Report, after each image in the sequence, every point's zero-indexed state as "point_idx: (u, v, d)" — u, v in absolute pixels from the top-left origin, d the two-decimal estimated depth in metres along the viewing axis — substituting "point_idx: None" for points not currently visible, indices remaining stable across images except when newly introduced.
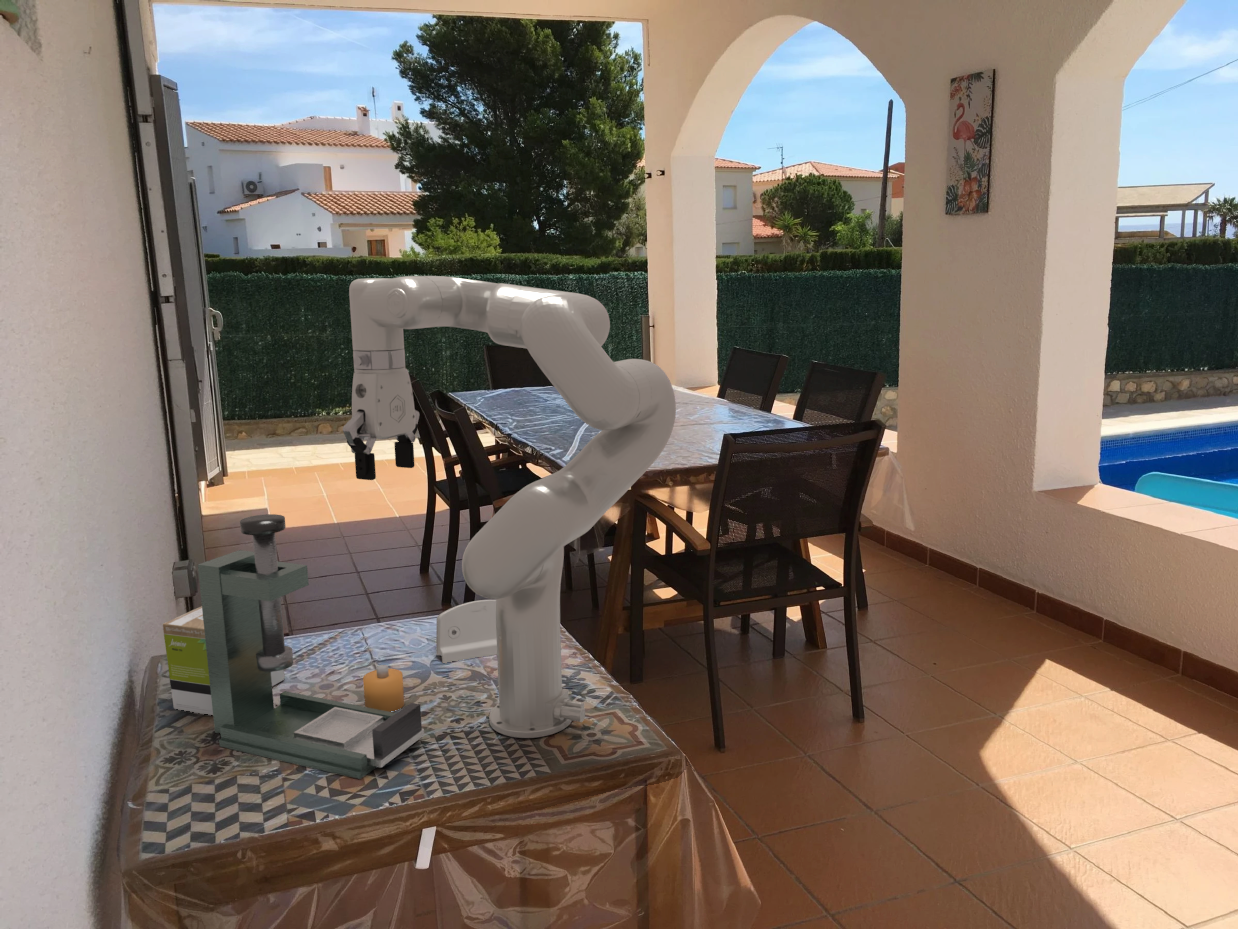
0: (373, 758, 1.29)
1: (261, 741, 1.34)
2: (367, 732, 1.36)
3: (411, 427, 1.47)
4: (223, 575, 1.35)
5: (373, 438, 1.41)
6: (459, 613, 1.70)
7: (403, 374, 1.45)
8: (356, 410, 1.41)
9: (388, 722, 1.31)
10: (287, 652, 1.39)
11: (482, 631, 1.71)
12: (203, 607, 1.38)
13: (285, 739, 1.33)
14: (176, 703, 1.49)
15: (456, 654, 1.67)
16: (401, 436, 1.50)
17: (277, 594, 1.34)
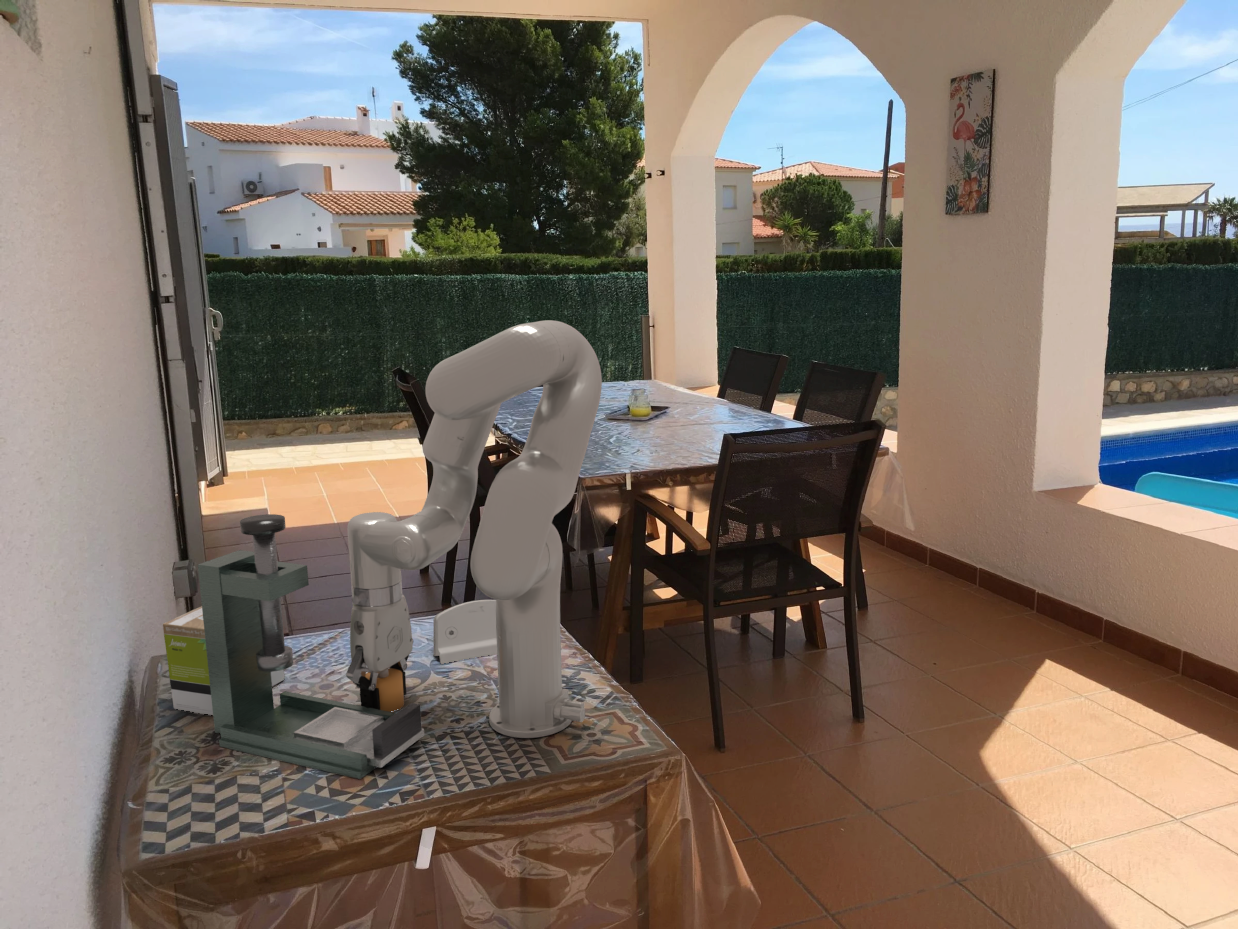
0: (373, 758, 1.29)
1: (261, 741, 1.34)
2: (367, 732, 1.36)
3: (409, 651, 1.50)
4: (223, 575, 1.35)
5: (375, 673, 1.45)
6: (456, 614, 1.69)
7: (400, 604, 1.48)
8: (354, 645, 1.44)
9: (388, 722, 1.31)
10: (287, 652, 1.39)
11: (479, 631, 1.71)
12: (203, 607, 1.38)
13: (285, 739, 1.33)
14: (176, 703, 1.49)
15: (454, 655, 1.67)
16: (393, 663, 1.52)
17: (277, 594, 1.34)
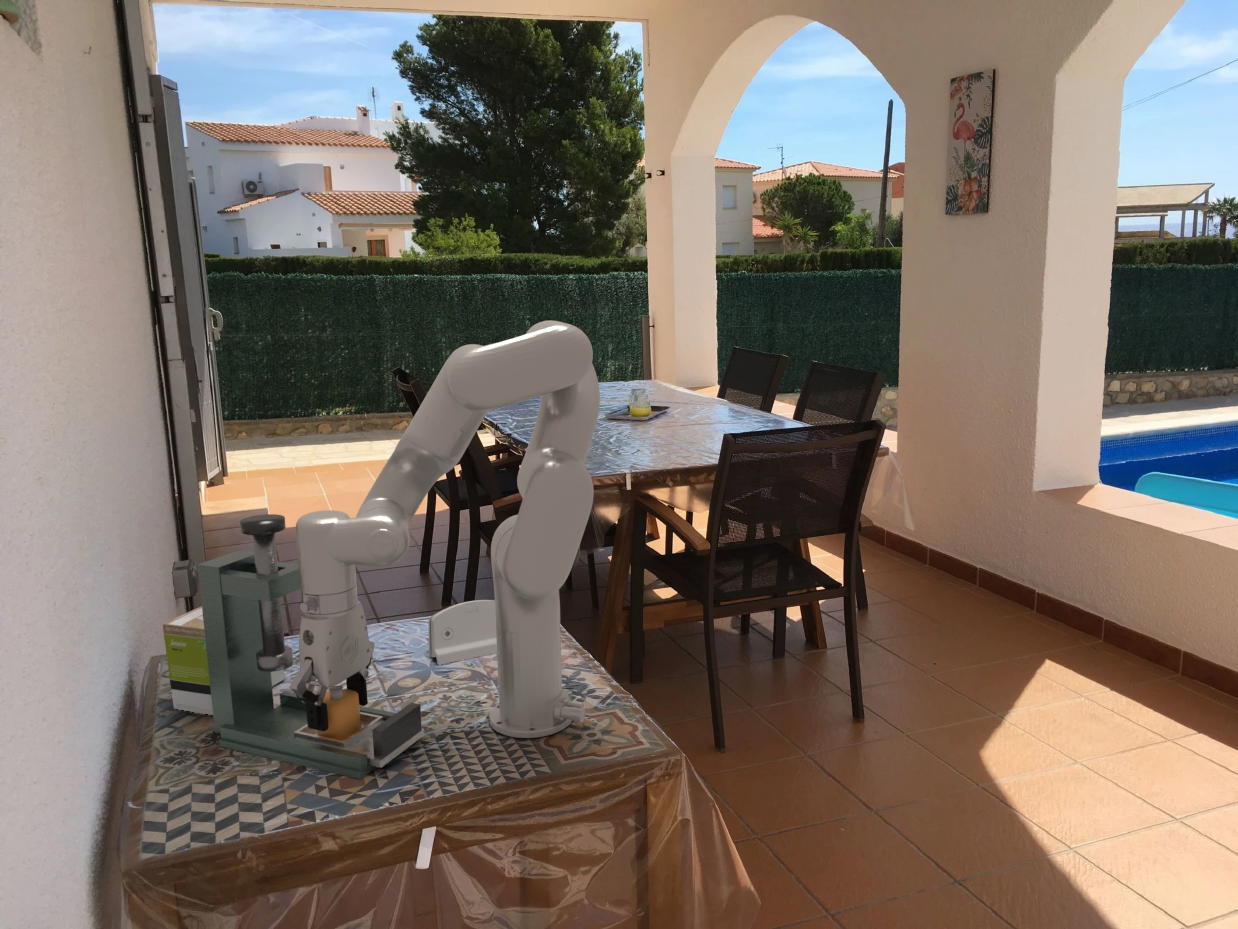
0: (373, 758, 1.29)
1: (261, 741, 1.34)
2: (367, 732, 1.36)
3: (366, 663, 1.37)
4: (223, 575, 1.35)
5: (324, 687, 1.31)
6: (451, 614, 1.69)
7: (355, 611, 1.35)
8: (303, 657, 1.30)
9: (388, 722, 1.31)
10: (287, 652, 1.39)
11: (475, 631, 1.70)
12: (203, 607, 1.38)
13: (285, 739, 1.33)
14: (176, 703, 1.49)
15: (451, 656, 1.67)
16: None
17: (277, 594, 1.34)
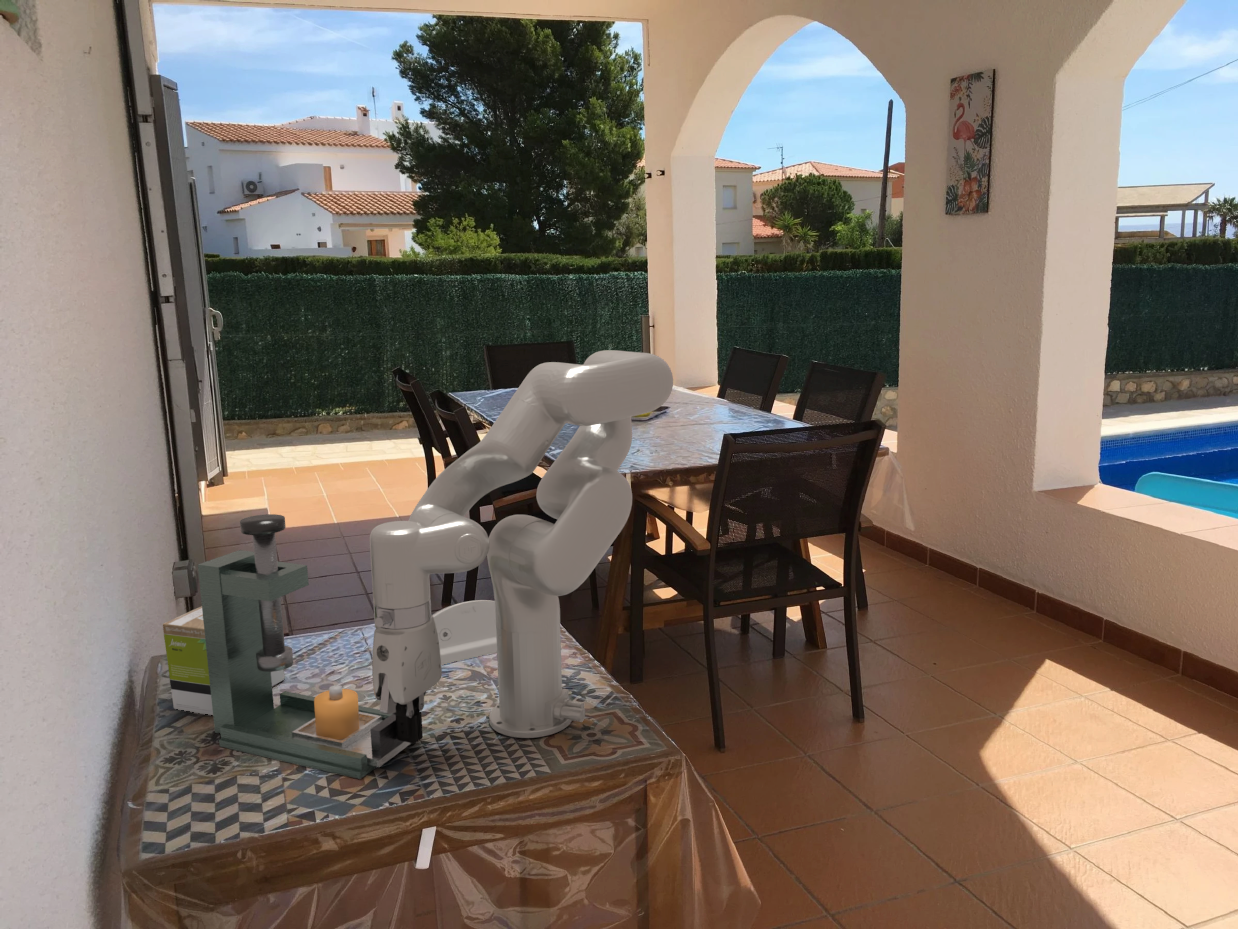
0: (372, 758, 1.29)
1: (261, 741, 1.34)
2: (365, 732, 1.36)
3: (437, 679, 1.33)
4: (223, 575, 1.35)
5: None
6: (449, 615, 1.69)
7: (429, 625, 1.30)
8: (377, 673, 1.26)
9: (386, 721, 1.31)
10: (287, 652, 1.39)
11: (472, 632, 1.70)
12: (203, 607, 1.38)
13: (285, 739, 1.33)
14: (176, 703, 1.49)
15: (449, 656, 1.66)
16: None
17: (277, 594, 1.34)
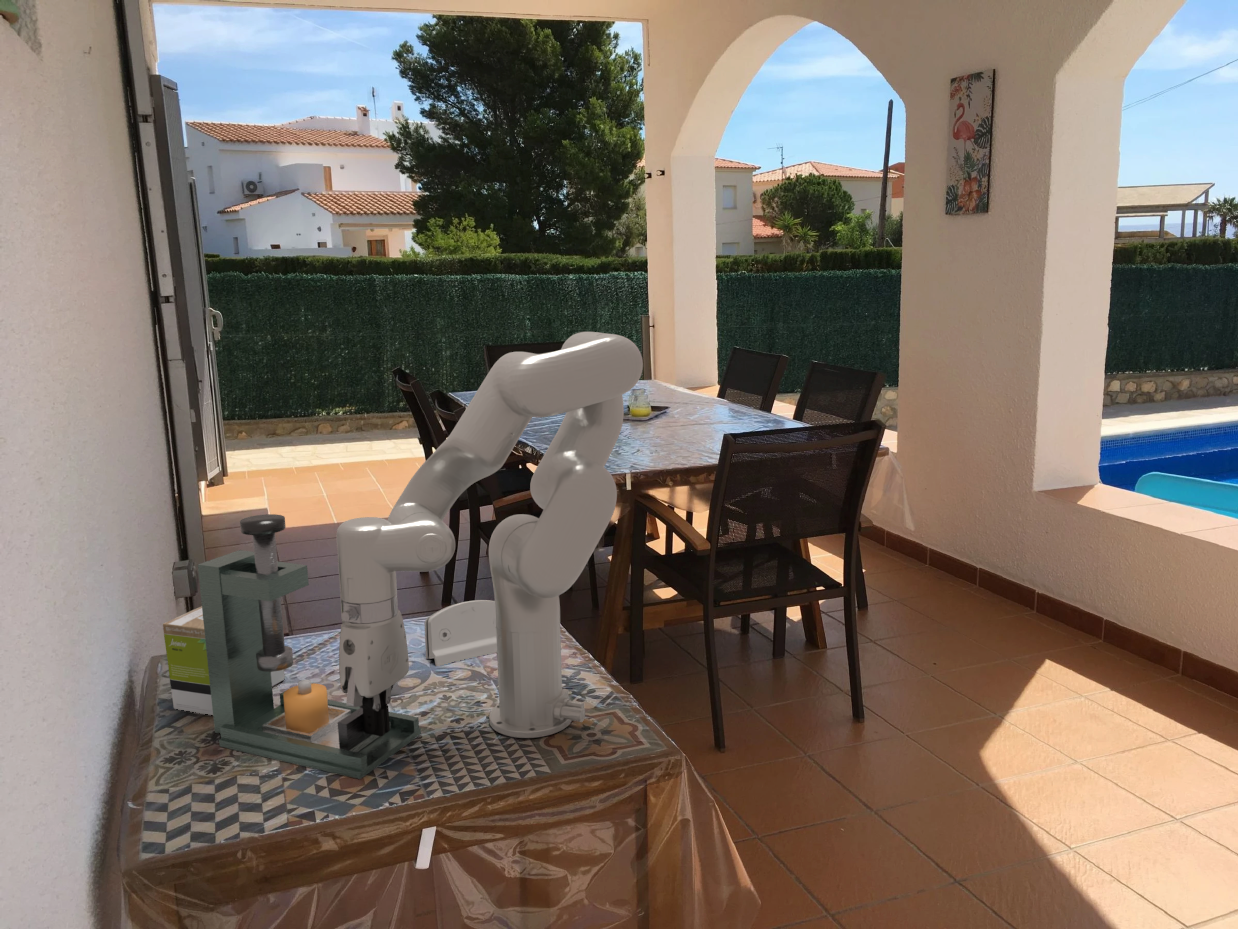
0: None
1: (261, 741, 1.34)
2: (334, 725, 1.38)
3: (404, 673, 1.35)
4: (223, 575, 1.35)
5: (375, 694, 1.31)
6: (448, 615, 1.69)
7: (395, 620, 1.32)
8: (344, 667, 1.28)
9: (353, 715, 1.33)
10: (287, 652, 1.39)
11: (472, 632, 1.70)
12: (203, 607, 1.38)
13: (285, 739, 1.33)
14: (176, 703, 1.49)
15: (449, 657, 1.66)
16: None
17: (277, 594, 1.34)
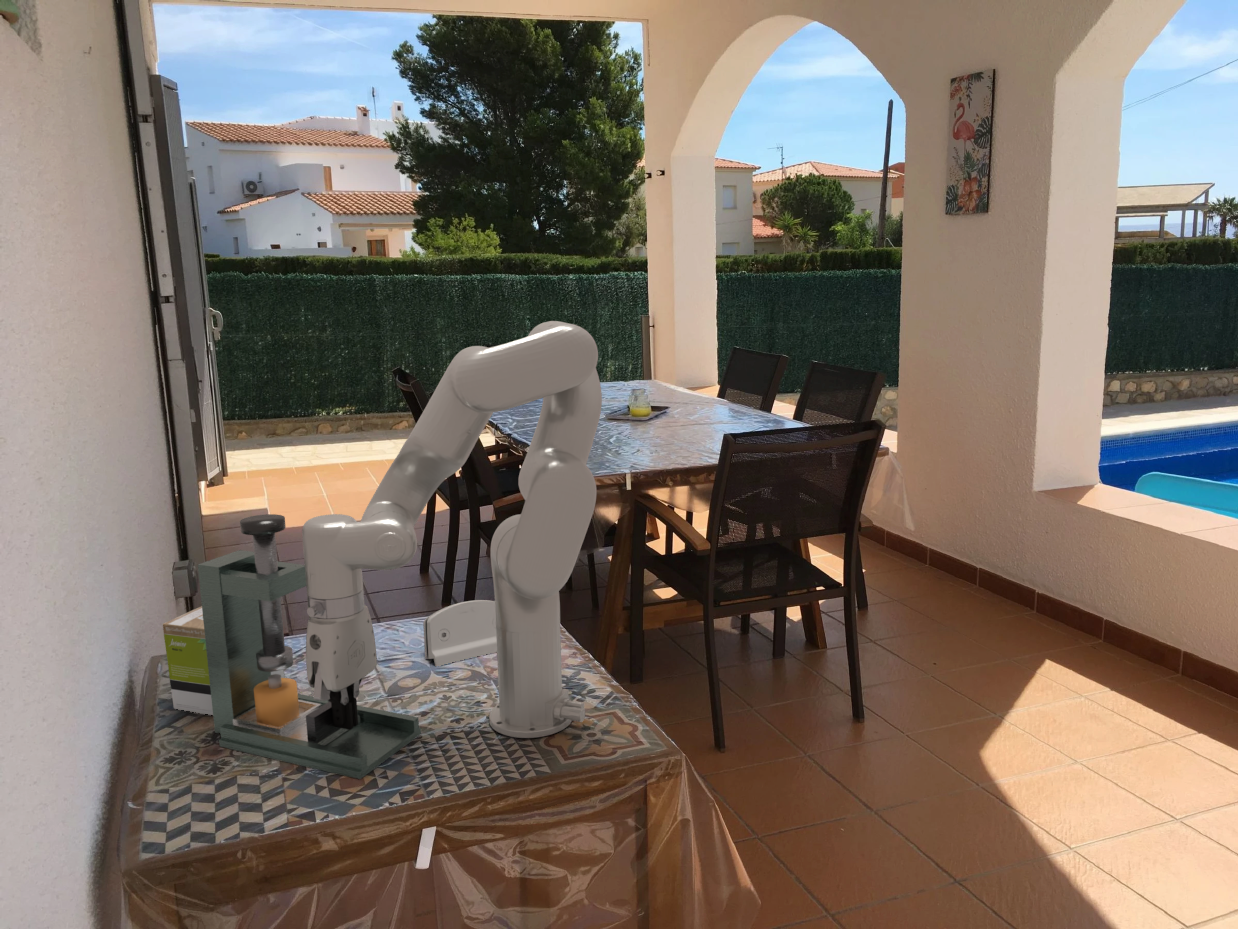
0: None
1: (261, 741, 1.34)
2: (304, 719, 1.40)
3: (372, 667, 1.37)
4: (223, 575, 1.35)
5: (343, 688, 1.33)
6: (447, 615, 1.69)
7: (362, 615, 1.34)
8: (310, 661, 1.30)
9: (322, 708, 1.35)
10: (287, 652, 1.39)
11: (471, 632, 1.70)
12: (203, 607, 1.38)
13: (285, 739, 1.33)
14: (176, 703, 1.49)
15: (448, 657, 1.66)
16: None
17: (277, 594, 1.34)
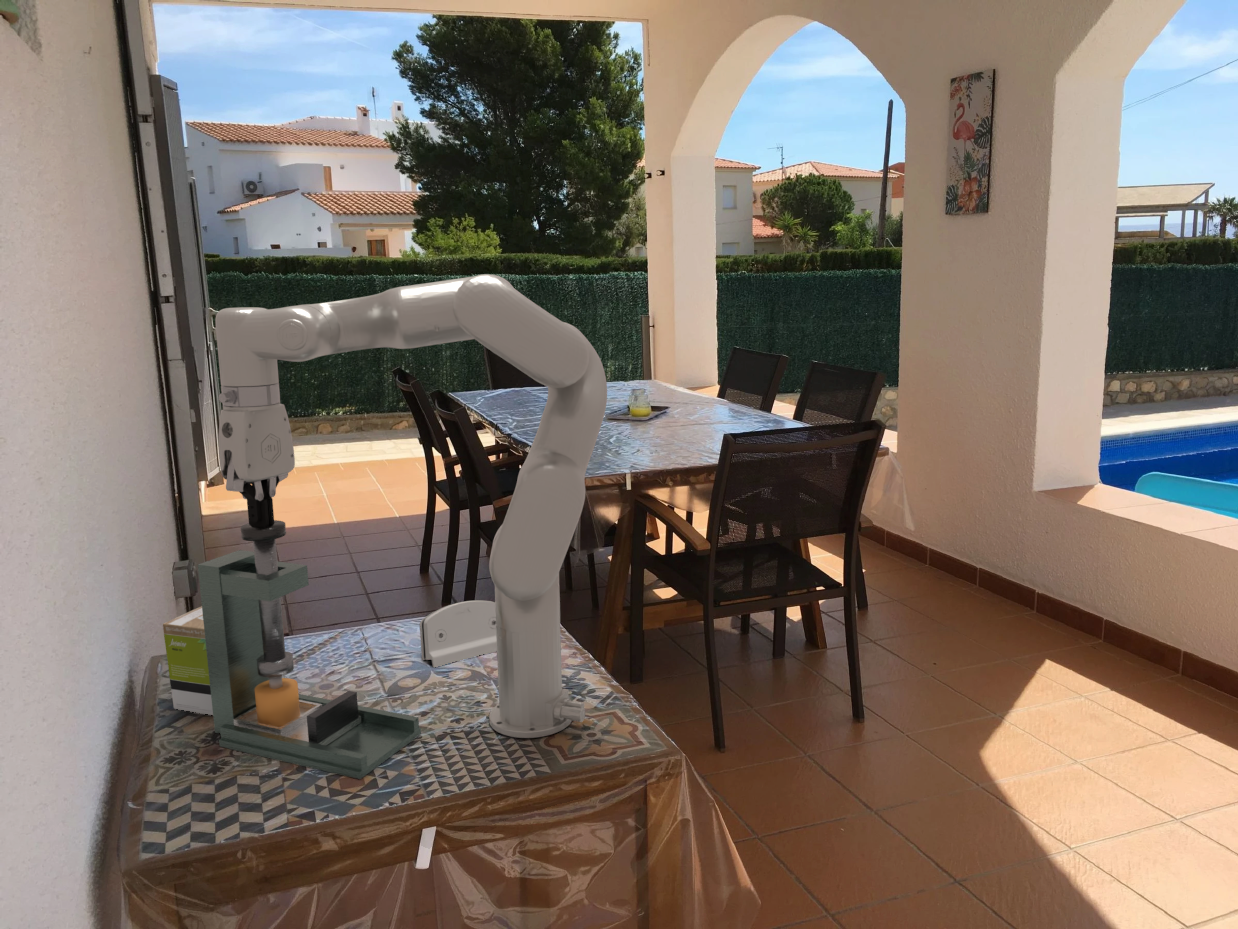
0: None
1: (261, 741, 1.34)
2: (305, 719, 1.40)
3: (289, 468, 1.36)
4: (223, 575, 1.35)
5: (257, 483, 1.33)
6: (444, 616, 1.68)
7: (278, 411, 1.34)
8: (223, 451, 1.29)
9: (323, 709, 1.35)
10: (287, 658, 1.39)
11: (468, 632, 1.70)
12: (203, 607, 1.38)
13: (285, 739, 1.33)
14: (176, 703, 1.49)
15: (446, 657, 1.66)
16: (261, 488, 1.36)
17: (277, 594, 1.34)
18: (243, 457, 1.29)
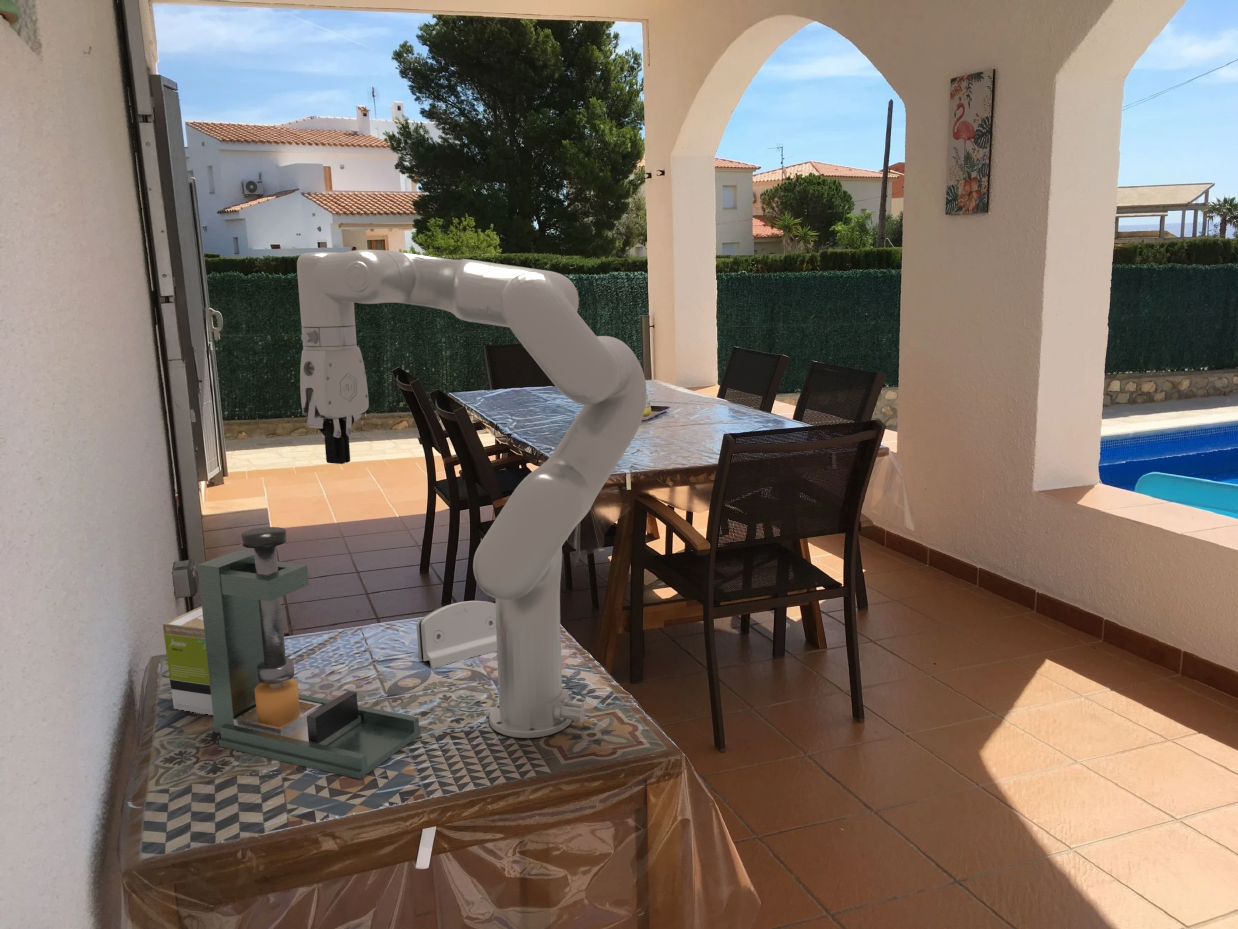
0: None
1: (261, 741, 1.34)
2: (305, 719, 1.40)
3: (364, 407, 1.43)
4: (223, 575, 1.35)
5: (335, 421, 1.39)
6: (441, 617, 1.68)
7: (354, 352, 1.40)
8: (304, 388, 1.36)
9: (323, 709, 1.35)
10: (288, 664, 1.40)
11: (465, 633, 1.70)
12: (203, 607, 1.38)
13: (285, 739, 1.33)
14: (176, 703, 1.49)
15: (444, 658, 1.66)
16: None
17: (277, 594, 1.34)
18: (324, 394, 1.35)
